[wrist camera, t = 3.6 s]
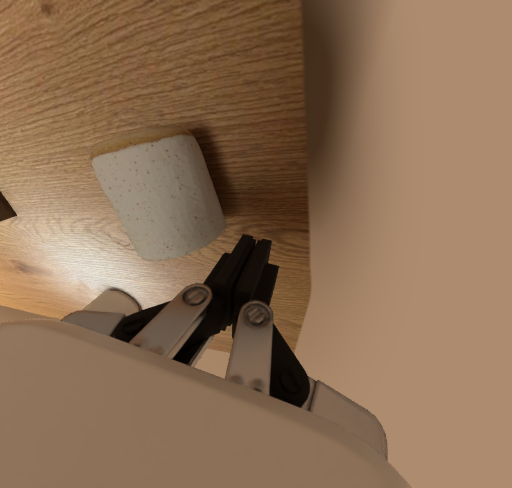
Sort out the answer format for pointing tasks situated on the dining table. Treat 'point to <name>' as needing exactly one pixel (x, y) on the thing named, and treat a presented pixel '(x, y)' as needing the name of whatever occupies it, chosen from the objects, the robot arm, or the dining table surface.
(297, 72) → the dining table surface
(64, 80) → the dining table surface
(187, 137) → the ceramic mug
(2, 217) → the back rail
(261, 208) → the dining table surface
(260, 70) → the dining table surface
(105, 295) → the can
